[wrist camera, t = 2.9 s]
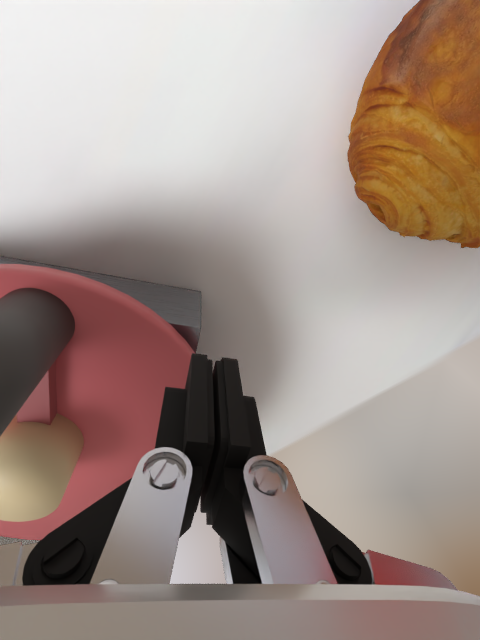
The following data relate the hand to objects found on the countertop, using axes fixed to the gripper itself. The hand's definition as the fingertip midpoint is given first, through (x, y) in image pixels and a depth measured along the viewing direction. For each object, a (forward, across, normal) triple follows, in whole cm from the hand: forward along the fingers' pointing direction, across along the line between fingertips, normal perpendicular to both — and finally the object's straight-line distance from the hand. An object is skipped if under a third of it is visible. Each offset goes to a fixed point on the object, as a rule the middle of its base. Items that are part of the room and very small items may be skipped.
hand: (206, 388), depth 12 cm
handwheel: (+4, +7, +7) cm, 11 cm away
